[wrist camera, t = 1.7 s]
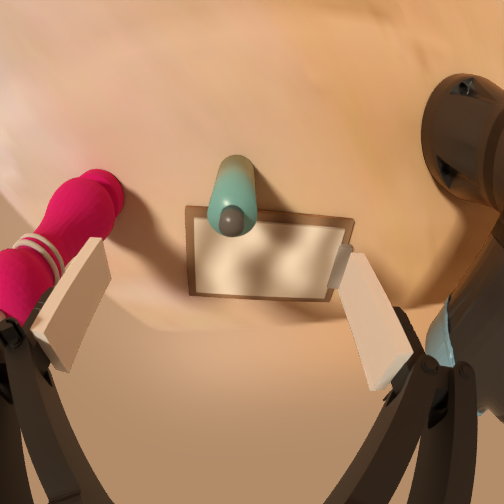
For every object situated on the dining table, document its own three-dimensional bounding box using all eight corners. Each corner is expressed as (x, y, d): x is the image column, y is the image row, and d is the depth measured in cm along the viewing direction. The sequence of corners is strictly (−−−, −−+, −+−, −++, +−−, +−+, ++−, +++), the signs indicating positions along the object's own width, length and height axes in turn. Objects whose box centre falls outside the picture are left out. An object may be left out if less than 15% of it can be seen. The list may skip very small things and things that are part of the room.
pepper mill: (132, 223, 30) (50, 377, 14) (80, 223, 30) (-12, 354, 13) (124, 161, 26) (-4, 294, 10) (69, 166, 26) (-59, 281, 9)
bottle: (255, 156, 26) (260, 203, 17) (252, 188, 28) (255, 250, 19) (219, 153, 26) (204, 200, 17) (218, 186, 28) (204, 247, 19)
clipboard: (356, 218, 30) (359, 224, 29) (330, 299, 37) (332, 305, 36) (186, 205, 29) (183, 211, 28) (189, 292, 36) (188, 299, 35)
